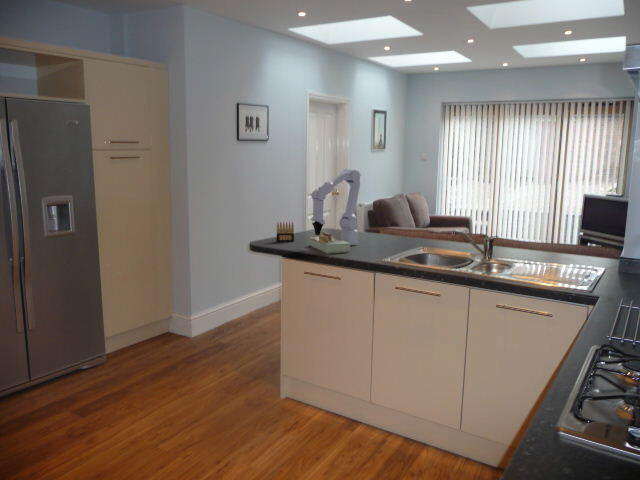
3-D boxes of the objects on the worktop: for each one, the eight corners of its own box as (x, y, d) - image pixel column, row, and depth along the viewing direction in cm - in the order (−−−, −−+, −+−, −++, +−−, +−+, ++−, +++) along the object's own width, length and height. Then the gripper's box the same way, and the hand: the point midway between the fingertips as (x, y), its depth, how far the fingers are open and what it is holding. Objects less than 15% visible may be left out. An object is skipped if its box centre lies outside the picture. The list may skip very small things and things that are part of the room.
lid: (331, 237, 307) (332, 230, 307) (344, 242, 293) (344, 234, 292) (309, 239, 302) (310, 231, 301) (321, 244, 287) (321, 235, 286)
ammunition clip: (276, 242, 313) (276, 222, 310) (276, 241, 314) (276, 221, 312) (294, 241, 315) (294, 222, 313) (293, 241, 317) (293, 221, 314)
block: (323, 240, 291) (323, 235, 291) (328, 242, 286) (328, 237, 285) (318, 240, 290) (318, 235, 290) (323, 242, 285) (323, 237, 284)
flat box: (331, 244, 308) (331, 236, 307) (349, 252, 287) (350, 243, 286) (309, 245, 303) (309, 237, 302) (326, 253, 281) (326, 244, 280)
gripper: (306, 209, 297) (306, 233, 300) (316, 212, 284) (316, 237, 287) (318, 209, 300) (317, 232, 303) (328, 212, 287) (327, 236, 289)
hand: (317, 235), depth 295 cm, fingers closed
